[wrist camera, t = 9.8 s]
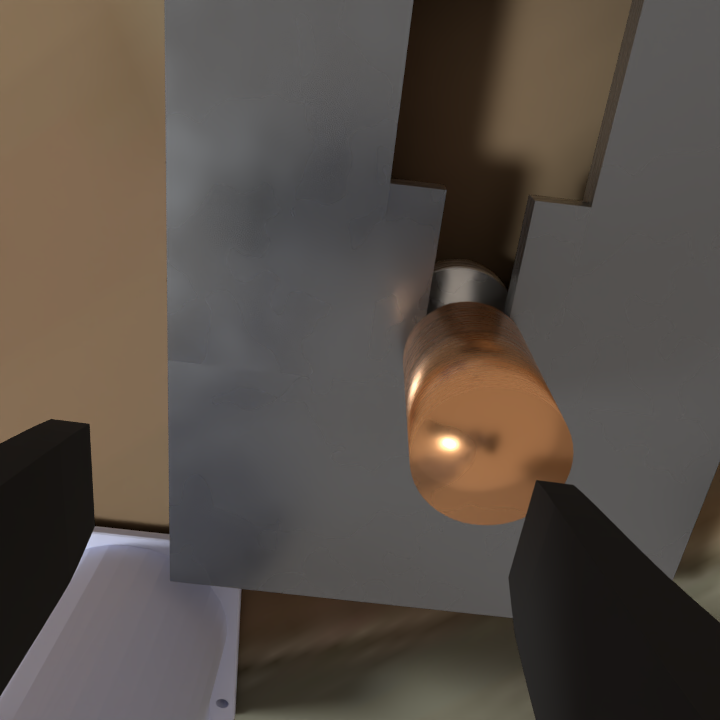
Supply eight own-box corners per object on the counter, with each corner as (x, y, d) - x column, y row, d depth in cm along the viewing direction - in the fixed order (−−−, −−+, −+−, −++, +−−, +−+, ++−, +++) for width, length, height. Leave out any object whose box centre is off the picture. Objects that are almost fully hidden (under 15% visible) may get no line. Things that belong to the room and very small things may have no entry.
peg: (496, 377, 21) (555, 544, 14) (384, 360, 21) (386, 519, 14) (525, 269, 20) (607, 393, 13) (404, 250, 20) (417, 363, 12)
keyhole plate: (626, 579, 24) (651, 633, 22) (190, 531, 24) (169, 581, 22) (932, -271, 15) (1034, -330, 12) (196, -369, 14) (160, -449, 12)
